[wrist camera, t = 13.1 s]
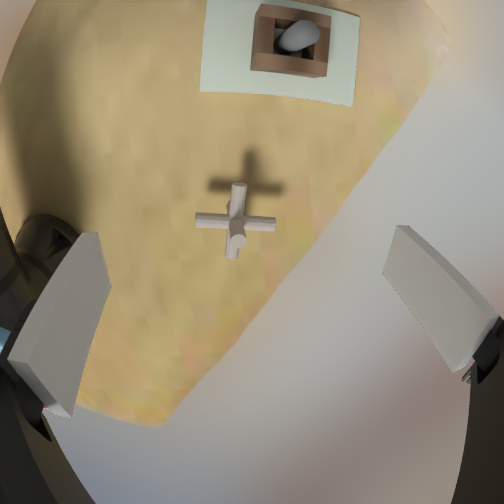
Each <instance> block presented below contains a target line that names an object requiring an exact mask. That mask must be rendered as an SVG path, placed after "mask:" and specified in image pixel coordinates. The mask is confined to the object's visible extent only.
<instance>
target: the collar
mask: <svg viewBox="0 0 504 504" xmlns="http://www.w3.org/2000/svg"><path fill="white" fill-rule="evenodd" d="M300 20H308V21H311V22H313V23H314V24H315V25H316V26H317V27H318V29H319V31H320V37H319V39H318V41H317V42H315V43H314V44H311V45H309V46H307V47H305V48H303V49H302V58H297V57H291V56H284V55H276V54H272V53H273V41H274V30H275V28H277V29H284V30H287V29H288V28H290V27H291V26H292V25H293V24H294V23H296V22H297V21H300ZM330 31H331V16H329V15H324V14H320V13H316V12H311V11H306V10H301V9H296V8H290V7H283V6H277V5H269V4H260V6H259V8H258V10H257V12H256V14H255V19H254V30H253V41H252V53H251V65H250V70H251V71H263V72H273V73H281V74H289V75H296V76H303V77H309V78H318V77H327V67H328V56H329V44H330Z"/></svg>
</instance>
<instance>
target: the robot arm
mask: <svg viewBox="0 0 504 504" xmlns="http://www.w3.org/2000/svg"><path fill="white" fill-rule="evenodd" d="M382 274H383V275H384V277H385V278H386V279H387V281H388V282H389V283H390V284H391V286H392V287H393V288H394V290H395V291H396V292H397V294H398V295H399V296H400V297H401V299H402V300H403V301H404V303H405V304H406V305H407V307H408V308H409V309H410V311H411V312H412V314H413V315H414V316H415V318H416V319H417V321H418V322H419V323H420V325H421V326H422V327H423V329H424V330H425V332H426V333H427V335H428V336H429V338H430V339H431V340H432V342H433V343H434V345H435V346H436V348H437V349H438V351H439V352H440V354H441V355H442V357H443V358H444V360H445V362H446V363H447V365H448V366H449V368H450V369H451V371H452V372H455V371H458V370H460V369H462V368H464V367H465V366H466V364H467V363H468V362H469V361H470V359H471V358H472V357H473V358H474V360H475V362H474V363H473V365H472V366H471V367H470V369H469V370H468V371H467V372H466V373H465V375H464V376H463V377H462V381H464V380H465V379H466V378H467V377H468V376H469V375H471V377H470V378H469V379H468V380H467V383H470V384H471V388H470V389H471V390H470V405H469V416H468V425H467V433H466V440H465V446H464V452H463V457H462V463H461V467H460V472H459V476H458V480H457V484H456V488H455V492H454V495H453V499H452V502H451V504H504V320H503V319H502V318H501V317H500V315H499V314H498V313H497V312H496V311H495V310H494V308H493V307H492V306H491V305H490V304H489V303H488V302H487V301H486V300H485V298H484V297H483V296H482V295H481V294H480V293H479V292H478V291H477V290H476V289H475V288H474V287H473V286H472V285H471V284H470V283H469V281H467V279H466V278H464V276H463V275H462V274H461V273H460V272H459V271H458V270H457V269H455V267H453V265H451V264H450V263H449V262H448V261H447V260H446V259H445V258H444V257H443V256H442V255H441V254H440V253H439V252H438V251H437V250H436V249H434V248H433V247H432V246H431V245H430V244H429V243H428V242H427V241H426V240H425V239H423V238H422V237H421V236H420V235H419V234H417V232H415V231H414V230H413V229H412V228H411V227H410V226H402V225H399V226H398V225H397V226H396V230H395V234H394V237H393V241H392V244H391V247H390V251H389V254H388V257H387V260H386V263H385V266H384V269H383V272H382ZM110 289H111V283H110V279H109V276H108V272H107V268H106V265H105V261H104V257H103V253H102V248H101V244H100V240H99V235H98V232H88V233H82V234H81V235H80V236H79V235H78V234H77V232H76V231H75V230H74V229H73V228H72V227H71V226H70V225H68V224H67V223H66V222H64V221H62V220H61V219H59V218H56V217H54V216H49V215H39V216H36V217H33V218H32V219H30V220H29V221H28V222H27V223H26V224H25V225H24V226H23V227H22V228H21V229H20V231H19V232H18V234H17V237H16V239H15V243H14V244H13V241H12V239H11V236H10V234H9V231H8V229H7V226H6V223H5V220H4V217H3V214H2V211H1V208H0V504H95V502H94V501H93V500H92V498H91V497H90V495H89V494H88V492H87V491H86V489H85V488H84V486H83V485H82V483H81V482H80V480H79V479H78V477H77V475H76V474H75V472H74V471H73V469H72V467H71V466H70V464H69V462H68V460H67V459H66V457H65V455H64V453H63V452H62V450H61V448H60V446H59V444H58V442H57V440H56V438H55V436H54V434H53V432H52V430H51V428H50V426H49V424H48V422H47V419H46V418H45V416H44V415H43V414H42V410H43V406H44V405H45V406H46V407H47V408H48V410H49V411H50V412H51V413H52V414H56V415H61V416H66V417H70V418H72V414H73V410H74V405H75V401H76V397H77V393H78V389H79V385H80V381H81V377H82V373H83V370H84V366H85V363H86V359H87V356H88V353H89V349H90V346H91V343H92V340H93V337H94V334H95V330H96V327H97V325H98V322H99V319H100V316H101V313H102V310H103V307H104V305H105V302H106V299H107V297H108V294H109V291H110Z"/></svg>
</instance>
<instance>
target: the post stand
mask: <svg viewBox="0 0 504 504" xmlns="http://www.w3.org/2000/svg"><path fill="white" fill-rule="evenodd" d="M260 4H269V5H277V6H283V7H290V8H296V9H301V10H306V11H311V12H316V13H320V14H324V15H329V16H331V31H330V44H329V56H328V67H327V77H318V78H309V77H303V76H296V75H289V74H281V73H273V72H263V71H251V70H250V65H251V53H252V41H253V30H254V19H255V14H256V12H257V10H258V8H259V6H260ZM359 26H360V17H357V16H354V15H350V14H347V13H344V12H340V11H336V10H332V9H329V8H324V7H320V6H316V5H311V4H306V3H301V2H296V1H290V0H207V7H206V16H205V26H204V37H203V48H202V61H201V76H200V92H238V93H255V94H267V95H277V96H287V97H295V98H302V99H309V100H316V101H322V102H328V103H334V104H339V105H344V106H349V107H352V104H353V96H354V87H355V77H356V67H357V56H358V42H359ZM319 37H320V31H319V29H318V27H317V26H316V25H315V24H314V23H313V22H311V21H308V20H300V21H297V22H296V23H294V24H293V25H292V26H291V27H290V28H288V29H287V30H284V29H277V28H275V30H274V41H273V53H272V54H276V55H284V56H291V57H297V58H302V49H303V48H305V47H307V46H309V45H311V44H314V43H315V42H317V41H318V39H319Z"/></svg>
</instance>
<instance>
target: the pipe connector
mask: <svg viewBox="0 0 504 504" xmlns="http://www.w3.org/2000/svg"><path fill="white" fill-rule="evenodd" d="M246 191H247V184H246V183H243V182H233V183H232V189H231V198H230V202H229V203H228V204H227V214H214V213H196V216H195V227H203V228H222V229H227V238H226V249H225V257H226V258H228V259H237V258H238V255H239V249H240V248H242V247H244V246H245V245H246V242H247V240H246V235H245V230H257V231H273V232H274V231H275V228H276V219H275V217H262V216H247V215H243V214H244V206H245V199H246Z"/></svg>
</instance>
